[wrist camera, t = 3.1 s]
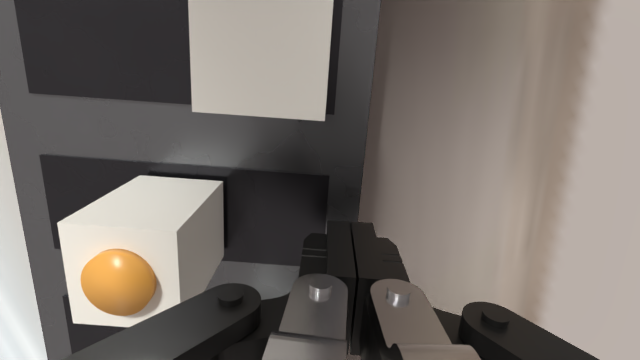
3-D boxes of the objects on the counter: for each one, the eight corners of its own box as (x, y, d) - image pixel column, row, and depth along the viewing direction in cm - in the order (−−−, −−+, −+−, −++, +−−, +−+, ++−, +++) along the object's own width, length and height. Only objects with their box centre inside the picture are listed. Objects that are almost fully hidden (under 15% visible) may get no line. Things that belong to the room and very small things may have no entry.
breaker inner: (236, -2, 11) (186, -39, 7) (333, 5, 11) (335, -28, 7) (236, 96, 12) (192, 111, 8) (326, 103, 12) (324, 120, 8)
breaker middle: (139, 175, 13) (48, 227, 9) (223, 181, 13) (171, 237, 9) (146, 250, 14) (65, 330, 10) (223, 255, 14) (177, 339, 10)
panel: (2, -154, 12) (-64, -198, 10) (387, -127, 12) (399, -167, 10) (88, 398, 20) (59, 439, 17) (332, 417, 19) (332, 459, 17)
